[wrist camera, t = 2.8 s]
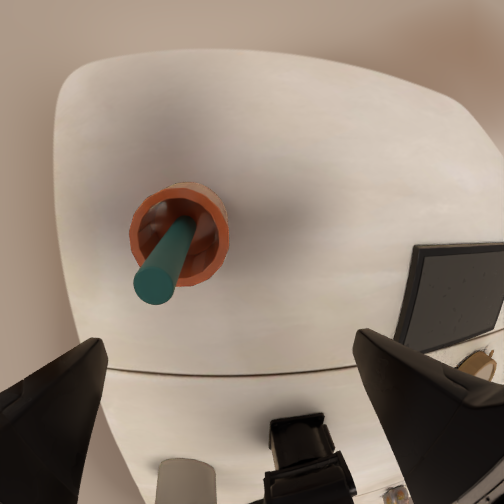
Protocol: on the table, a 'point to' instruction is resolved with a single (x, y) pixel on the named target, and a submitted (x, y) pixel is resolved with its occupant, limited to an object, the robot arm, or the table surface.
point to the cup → (185, 482)
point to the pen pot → (205, 237)
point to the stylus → (165, 263)
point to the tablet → (451, 294)
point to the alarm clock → (480, 365)
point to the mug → (396, 496)
